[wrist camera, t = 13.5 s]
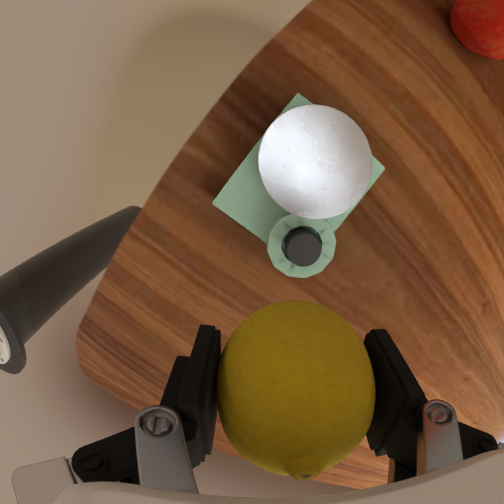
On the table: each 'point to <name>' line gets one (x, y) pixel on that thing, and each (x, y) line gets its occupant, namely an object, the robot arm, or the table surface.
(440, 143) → the table surface
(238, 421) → the lemon
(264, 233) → the scale
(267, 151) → the scale weighing pan
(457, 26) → the apple
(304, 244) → the tare button
